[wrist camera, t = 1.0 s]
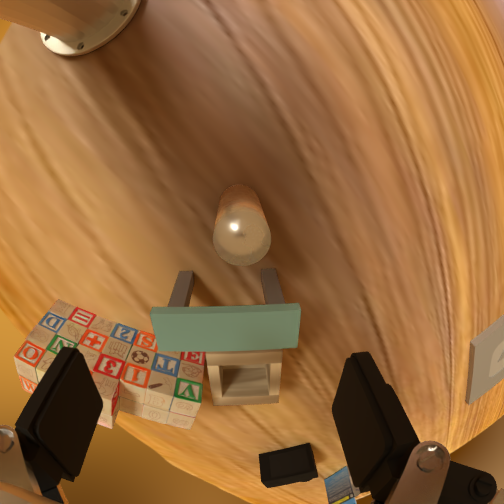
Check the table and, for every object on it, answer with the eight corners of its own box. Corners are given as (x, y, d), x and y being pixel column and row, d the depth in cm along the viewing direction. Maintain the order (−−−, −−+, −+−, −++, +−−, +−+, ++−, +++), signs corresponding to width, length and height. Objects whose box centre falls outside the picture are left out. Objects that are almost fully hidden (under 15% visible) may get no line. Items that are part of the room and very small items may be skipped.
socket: (208, 321, 35) (205, 354, 29) (275, 318, 35) (282, 351, 30) (214, 372, 38) (213, 405, 33) (273, 370, 39) (278, 402, 33)
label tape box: (333, 479, 59) (342, 516, 48) (322, 479, 58) (331, 517, 47) (356, 465, 56) (368, 504, 45) (345, 465, 55) (356, 505, 44)
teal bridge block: (171, 261, 32) (149, 313, 22) (282, 257, 32) (301, 309, 23) (175, 292, 33) (158, 350, 24) (281, 289, 34) (297, 347, 25)
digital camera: (265, 463, 51) (268, 490, 45) (258, 453, 49) (260, 482, 43) (313, 452, 50) (319, 479, 44) (309, 442, 48) (315, 471, 42)
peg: (218, 185, 29) (211, 212, 20) (259, 184, 29) (271, 210, 20) (220, 223, 30) (214, 266, 21) (259, 222, 31) (270, 265, 21)
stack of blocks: (207, 348, 37) (201, 426, 26) (195, 378, 39) (188, 451, 28) (57, 297, 33) (11, 356, 22) (58, 331, 35) (21, 390, 24)
